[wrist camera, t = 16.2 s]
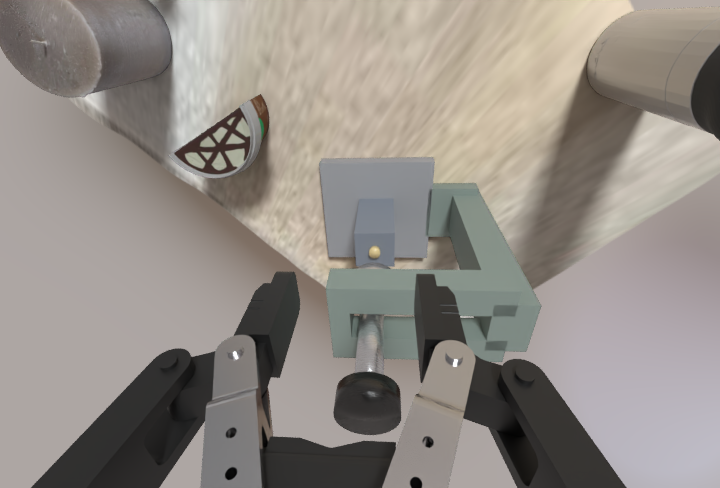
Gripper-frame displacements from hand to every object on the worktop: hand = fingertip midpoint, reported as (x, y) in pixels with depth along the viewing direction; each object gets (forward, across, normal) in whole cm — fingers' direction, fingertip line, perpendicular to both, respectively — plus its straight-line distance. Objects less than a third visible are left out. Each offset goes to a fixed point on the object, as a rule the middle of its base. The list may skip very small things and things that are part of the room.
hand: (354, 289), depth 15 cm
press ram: (+19, 0, +15) cm, 25 cm away
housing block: (+35, 0, +15) cm, 38 cm away
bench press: (+37, -3, +15) cm, 40 cm away
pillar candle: (+38, +30, -9) cm, 49 cm away
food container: (+38, +18, +3) cm, 42 cm away
